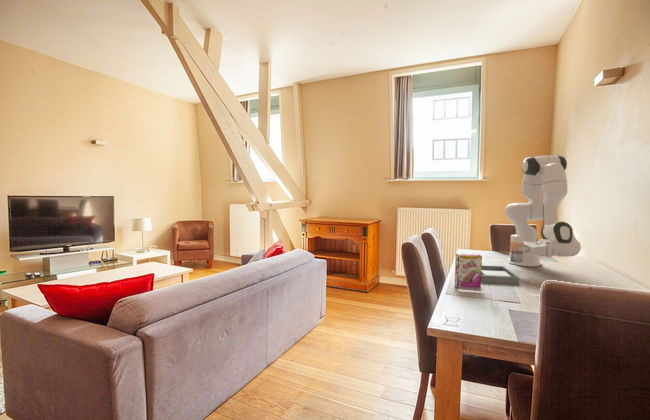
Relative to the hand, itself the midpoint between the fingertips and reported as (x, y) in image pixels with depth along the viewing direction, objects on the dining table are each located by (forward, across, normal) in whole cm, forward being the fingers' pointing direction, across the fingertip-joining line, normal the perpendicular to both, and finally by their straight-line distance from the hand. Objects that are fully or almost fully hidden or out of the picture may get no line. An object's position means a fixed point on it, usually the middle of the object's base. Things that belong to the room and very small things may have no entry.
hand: (515, 246), depth 178 cm
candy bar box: (+28, +24, +17) cm, 41 cm away
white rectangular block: (+12, +10, +16) cm, 22 cm away
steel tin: (-1, 0, +8) cm, 8 cm away
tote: (+12, +5, +17) cm, 21 cm away
